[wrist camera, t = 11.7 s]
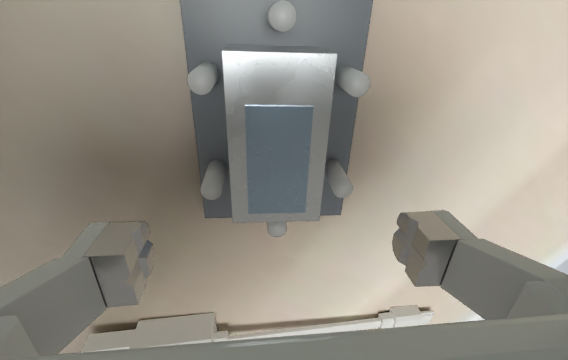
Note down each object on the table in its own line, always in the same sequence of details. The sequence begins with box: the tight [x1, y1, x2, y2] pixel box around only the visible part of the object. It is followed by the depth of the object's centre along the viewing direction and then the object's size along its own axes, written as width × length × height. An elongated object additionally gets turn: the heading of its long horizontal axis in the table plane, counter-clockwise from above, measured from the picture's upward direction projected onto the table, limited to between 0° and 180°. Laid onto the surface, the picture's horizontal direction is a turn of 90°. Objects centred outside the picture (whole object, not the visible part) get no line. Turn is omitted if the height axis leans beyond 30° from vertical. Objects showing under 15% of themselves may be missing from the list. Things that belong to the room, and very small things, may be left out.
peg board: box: [180, 0, 373, 237], centre depth 17 cm, size 14×10×4 cm
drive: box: [222, 44, 337, 223], centre depth 17 cm, size 9×5×4 cm, turn 178°
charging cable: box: [80, 305, 434, 353], centre depth 28 cm, size 5×32×3 cm, turn 90°
